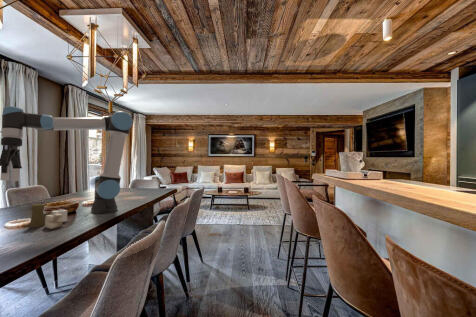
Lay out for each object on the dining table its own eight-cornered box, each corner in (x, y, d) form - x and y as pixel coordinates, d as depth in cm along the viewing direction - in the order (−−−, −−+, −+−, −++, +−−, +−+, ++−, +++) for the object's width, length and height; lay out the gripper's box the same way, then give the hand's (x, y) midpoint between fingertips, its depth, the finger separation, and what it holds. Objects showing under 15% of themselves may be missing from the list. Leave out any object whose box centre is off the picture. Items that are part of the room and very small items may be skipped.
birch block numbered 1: (56, 224, 119) (56, 212, 119) (62, 226, 117) (62, 214, 117) (45, 227, 114) (45, 215, 114) (51, 228, 113) (51, 216, 113)
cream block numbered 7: (61, 220, 128) (61, 209, 128) (67, 221, 126) (67, 209, 126) (51, 222, 123) (51, 210, 123) (56, 223, 121) (57, 211, 121)
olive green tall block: (45, 225, 117) (46, 204, 117) (29, 228, 112) (30, 205, 112) (44, 223, 121) (44, 202, 121) (29, 225, 117) (29, 204, 117)
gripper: (11, 142, 123) (9, 181, 120) (-11, 132, 101) (-13, 180, 99) (29, 142, 126) (28, 181, 124) (12, 133, 105) (11, 179, 103)
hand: (10, 180), depth 111 cm, fingers open, 13 cm apart
